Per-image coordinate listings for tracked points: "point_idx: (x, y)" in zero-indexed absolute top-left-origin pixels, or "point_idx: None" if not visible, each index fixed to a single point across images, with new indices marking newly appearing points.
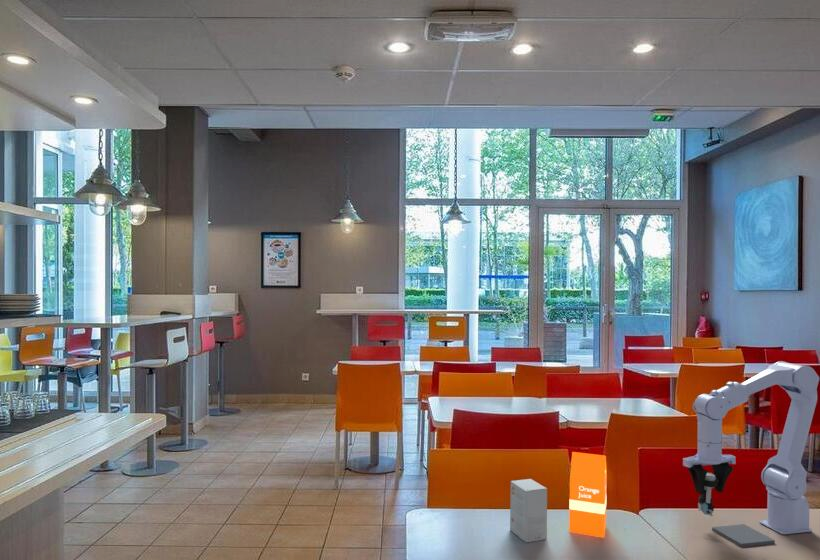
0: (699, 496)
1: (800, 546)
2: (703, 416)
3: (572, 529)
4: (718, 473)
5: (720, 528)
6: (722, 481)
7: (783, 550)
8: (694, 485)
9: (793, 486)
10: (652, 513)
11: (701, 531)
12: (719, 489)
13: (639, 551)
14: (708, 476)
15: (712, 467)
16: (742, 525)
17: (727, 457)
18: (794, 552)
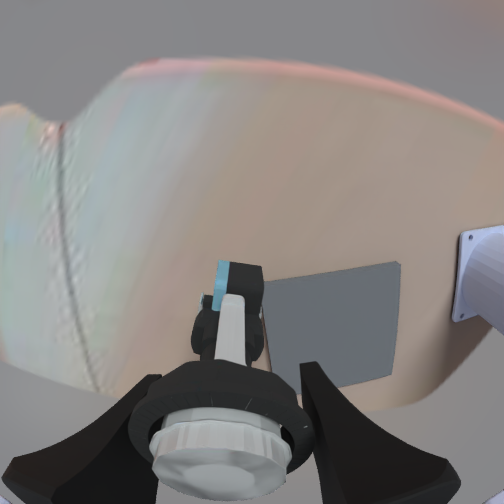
0: (193, 329)
1: (430, 376)
2: None
3: None
4: (326, 486)
5: (285, 299)
6: (318, 466)
7: (373, 399)
8: (125, 396)
9: None
10: (108, 114)
11: (212, 287)
12: (303, 408)
13: (26, 364)
14: (200, 496)
15: (335, 478)
16: (386, 276)
17: None
18: (388, 405)
